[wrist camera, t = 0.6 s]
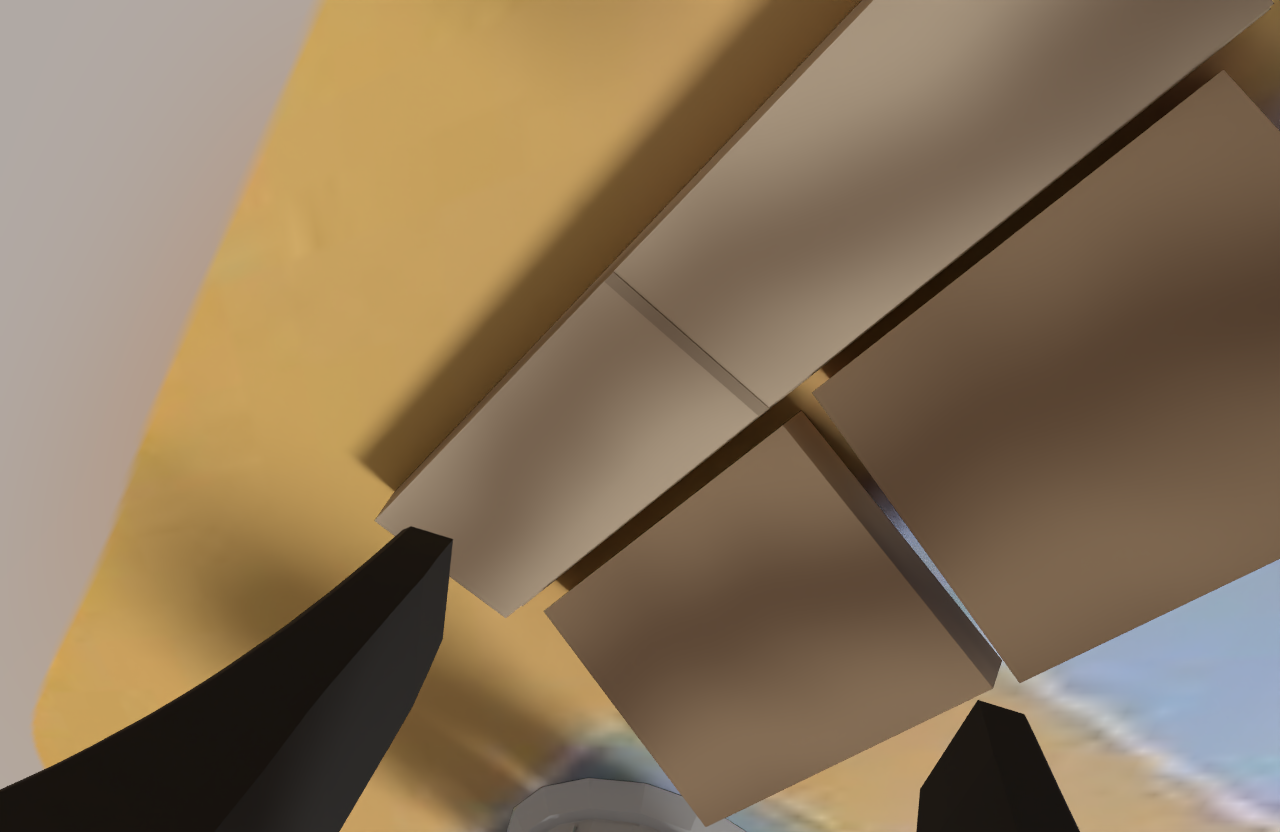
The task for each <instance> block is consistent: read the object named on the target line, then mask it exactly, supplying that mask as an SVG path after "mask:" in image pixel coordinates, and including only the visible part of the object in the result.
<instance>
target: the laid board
mask: <svg viewBox="0 0 1280 832" xmlns="http://www.w3.org/2000/svg"><path fill="white" fill-rule="evenodd" d="M1273 4H1274V2H1273V1H1272V0H862V1H861V2H860V3H859V4H858V5H857V6H856V7H855V8H854V9H853V10H852V11H851V12H850V13H849V14H848V15H847V17H846V18H845V19H844V20H843V21H842V22H841V23H840V24H839V25H838V26H837V27H836V28H835V29H834V30H833V31H832V32H831V33H830V34H829V35H828V36H827V38H826V39H825V40H824V41H823V42H822V43H821V44H820V45H819V46H818V47H817V48H816V49H815V50H814V51H813V52H812V53H811V54H810V55H809V56H808V58H807V59H806V60H805V61H804V62H803V63H802V64H801V65H800V66H799V67H798V68H797V69H796V70H795V71H794V72H793V73H792V74H791V75H790V76H789V78H788V79H787V80H786V81H785V82H784V83H783V84H782V85H781V86H780V87H779V88H778V89H777V90H776V91H775V92H774V93H773V94H772V95H771V96H770V97H769V99H768V100H767V101H766V102H765V103H764V104H763V105H762V106H761V107H760V108H759V109H758V110H757V111H756V112H755V113H754V114H753V115H752V116H751V117H750V119H749V120H748V121H747V122H746V123H745V124H744V125H743V126H742V127H741V128H740V129H739V130H738V131H737V132H736V133H735V134H734V135H733V136H732V137H731V139H730V140H729V141H728V142H727V143H726V144H725V145H724V146H723V147H722V148H721V149H720V150H719V151H718V152H717V153H716V154H715V155H714V156H713V157H712V159H711V160H710V161H709V162H708V163H707V164H706V165H705V166H704V167H703V168H702V169H701V170H700V171H699V172H698V173H697V174H696V175H695V176H694V177H693V178H692V180H691V181H690V182H689V183H688V184H687V185H686V186H685V187H684V188H683V189H682V190H681V191H680V192H679V193H678V194H677V195H676V196H675V197H674V198H673V200H672V201H671V202H670V203H669V204H668V205H667V206H666V207H665V208H664V209H663V210H662V211H661V212H660V213H659V214H658V215H657V216H656V217H655V218H654V220H653V221H652V222H651V223H650V224H649V225H648V226H647V227H646V228H645V229H644V230H643V231H642V232H641V233H640V234H639V235H638V236H637V237H636V238H635V239H634V241H633V242H632V243H631V244H630V245H629V246H628V247H627V248H626V249H625V250H624V251H623V252H622V253H621V254H620V255H619V256H618V257H617V258H616V259H615V261H614V262H613V263H612V264H611V265H610V266H609V267H608V268H607V269H606V270H605V271H604V272H603V273H602V274H601V275H600V276H599V277H598V278H597V279H596V281H595V282H594V283H593V284H592V285H591V286H590V287H589V288H588V289H587V290H586V291H585V292H584V293H583V294H582V295H581V296H580V297H579V298H578V299H577V300H576V302H575V303H574V304H573V305H572V306H571V307H570V308H569V309H568V310H567V311H566V312H565V313H564V314H563V315H562V316H561V317H560V318H559V319H558V320H557V322H556V323H555V324H554V325H553V326H552V327H551V328H550V329H549V330H548V331H547V332H546V333H545V334H544V335H543V336H542V337H541V338H540V339H539V340H538V342H537V343H536V344H535V345H534V346H533V347H532V348H531V349H530V350H529V351H528V352H527V353H526V354H525V355H524V356H523V357H522V358H521V359H520V360H519V362H518V363H517V364H516V365H515V366H514V367H513V368H512V369H511V370H510V371H509V372H508V373H507V374H506V375H505V376H504V377H503V378H502V379H501V380H500V381H499V383H498V384H497V385H496V386H495V387H494V388H493V389H492V390H491V391H490V392H489V393H488V394H487V395H486V396H485V397H484V398H483V399H482V400H481V401H480V403H479V404H478V405H477V406H476V407H475V408H474V409H473V410H472V411H471V412H470V413H469V414H468V415H467V416H466V417H465V418H464V419H463V420H462V421H461V423H460V424H459V425H458V426H457V427H456V428H455V429H454V430H453V431H452V432H451V433H450V434H449V435H448V436H447V437H446V438H445V439H444V440H443V441H442V442H441V444H440V445H439V446H438V447H437V448H436V449H435V450H434V451H433V452H432V453H431V454H430V455H429V456H428V457H427V458H426V459H425V460H424V461H423V462H422V464H421V465H420V466H419V467H418V468H417V469H416V470H415V471H414V472H413V473H412V474H411V475H410V476H409V477H408V478H407V479H406V480H405V481H404V482H403V484H402V485H401V486H400V487H399V488H398V489H397V490H396V491H395V492H394V493H393V495H392V496H391V497H390V499H389V500H388V502H387V503H386V505H385V506H384V508H383V509H382V510H381V512H380V513H379V515H378V516H377V518H376V519H375V520H374V521H375V522H377V523H378V524H380V525H381V526H382V527H384V528H385V529H386V530H388V531H389V532H390V533H392V534H393V535H394V536H396V535H397V534H398V533H400V532H401V531H402V530H403V529H406V528H408V527H410V526H412V527H415V528H419V529H422V530H425V531H428V532H432V533H435V534H438V535H442V536H445V537H448V538H451V539H453V545H452V555H451V564H450V574H449V576H450V577H451V578H452V579H454V580H455V581H456V582H458V583H459V584H460V585H462V586H463V587H464V588H466V589H467V590H468V591H470V592H471V593H473V594H474V595H475V596H477V597H478V598H479V599H481V600H482V601H483V602H485V603H486V604H487V605H489V606H490V607H491V608H493V609H494V610H495V611H497V612H498V613H500V614H501V615H502V616H504V617H505V618H507V617H508V616H509V615H510V614H512V613H513V612H514V611H515V610H517V609H518V608H519V607H520V606H523V605H525V604H526V603H527V602H529V601H530V600H531V599H532V598H534V597H535V596H536V595H537V594H539V593H540V592H541V591H542V590H544V589H545V588H546V587H547V586H549V585H550V584H551V583H552V582H554V581H555V580H556V579H557V578H559V577H560V576H561V575H562V574H564V573H565V572H566V571H567V570H569V569H570V568H571V567H572V566H574V565H575V564H576V563H577V562H579V561H580V560H581V559H582V558H584V557H585V556H586V555H587V554H589V553H590V552H591V551H592V550H594V549H595V548H596V547H597V546H599V545H600V544H601V543H602V542H604V541H605V540H606V539H607V538H609V537H610V536H611V535H612V534H614V533H615V532H616V531H617V530H619V529H620V528H621V527H622V526H624V525H625V524H626V523H627V522H629V521H630V520H631V519H632V518H634V517H635V516H636V515H637V514H639V513H640V512H641V511H642V510H644V509H645V508H646V507H647V506H649V505H650V504H651V503H652V502H654V501H655V500H656V499H657V498H659V497H660V496H661V495H662V494H664V493H665V492H666V491H668V490H669V489H670V488H671V487H673V486H674V485H675V484H676V483H678V482H679V481H680V480H681V479H683V478H684V477H685V476H686V475H688V474H689V473H690V472H691V471H693V470H694V469H695V468H696V467H698V466H699V465H700V464H701V463H703V462H704V461H705V460H706V459H708V458H709V457H710V456H711V455H713V454H714V453H715V452H716V451H718V450H719V449H720V448H721V447H723V446H724V445H725V444H726V443H728V442H729V441H730V440H731V439H733V438H734V437H735V436H736V435H738V434H739V433H740V432H741V431H743V430H744V429H745V428H746V427H748V426H749V425H750V424H751V423H753V422H754V421H755V420H756V419H758V418H759V417H760V416H761V415H763V414H764V413H765V412H766V411H768V410H769V409H770V408H771V407H773V406H774V405H775V404H776V403H778V402H779V401H780V400H781V399H783V398H784V397H785V396H786V395H788V394H789V393H790V392H791V391H793V390H794V389H795V388H796V387H798V386H799V385H800V384H801V383H803V382H804V381H805V380H807V379H808V378H809V377H810V376H812V375H813V374H814V373H815V372H817V371H818V370H819V369H820V368H822V367H823V366H824V365H825V364H827V363H828V362H829V361H830V360H832V359H833V358H834V357H835V356H837V355H838V354H839V353H840V352H842V351H843V350H844V349H845V348H847V347H848V346H849V345H850V344H852V343H853V342H854V341H855V340H857V339H858V338H859V337H860V336H862V335H863V334H864V333H865V332H867V331H868V330H869V329H870V328H872V327H873V326H874V325H875V324H877V323H878V322H879V321H880V320H882V319H883V318H884V317H885V316H887V315H888V314H889V313H890V312H892V311H893V310H894V309H895V308H897V307H898V306H899V305H900V304H902V303H903V302H904V301H905V300H907V299H908V298H909V297H910V296H912V295H913V294H914V293H915V292H917V291H918V290H919V289H920V288H922V287H923V286H924V285H925V284H927V283H928V282H929V281H930V280H932V279H933V278H934V277H935V276H937V275H938V274H939V273H940V272H942V271H943V270H944V269H946V268H947V267H948V266H949V265H951V264H952V263H953V262H954V261H956V260H957V259H958V258H959V257H961V256H962V255H963V254H964V253H966V252H967V251H968V250H969V249H971V248H972V247H973V246H974V245H976V244H977V243H978V242H979V241H981V240H982V239H983V238H984V237H986V236H987V235H988V234H989V233H991V232H992V231H993V230H994V229H996V228H997V227H998V226H999V225H1001V224H1002V223H1003V222H1004V221H1006V220H1007V219H1008V218H1009V217H1011V216H1012V215H1013V214H1014V213H1016V212H1017V211H1018V210H1019V209H1021V208H1022V207H1023V206H1024V205H1026V204H1027V203H1028V202H1029V201H1031V200H1032V199H1033V198H1034V197H1036V196H1037V195H1038V194H1039V193H1041V192H1042V191H1043V190H1044V189H1046V188H1047V187H1048V186H1049V185H1051V184H1052V183H1053V182H1054V181H1056V180H1057V179H1058V178H1059V177H1061V176H1062V175H1063V174H1064V173H1066V172H1067V171H1068V170H1069V169H1071V168H1072V167H1073V166H1074V165H1076V164H1077V163H1078V162H1080V161H1081V160H1082V159H1083V158H1085V157H1086V156H1087V155H1088V154H1090V153H1091V152H1092V151H1093V150H1095V149H1096V148H1097V147H1098V146H1100V145H1101V144H1102V143H1103V142H1105V141H1106V140H1107V139H1108V138H1110V137H1111V136H1112V135H1113V134H1115V133H1116V132H1117V131H1118V130H1120V129H1121V128H1122V127H1123V126H1125V125H1126V124H1127V123H1128V122H1130V121H1131V120H1132V119H1133V118H1135V117H1136V116H1137V115H1138V114H1140V113H1141V112H1142V111H1143V110H1145V109H1146V108H1147V107H1148V106H1150V105H1151V104H1152V103H1153V102H1155V101H1156V100H1157V99H1158V98H1160V97H1161V96H1162V95H1163V94H1165V93H1166V92H1167V91H1168V90H1170V89H1171V88H1172V87H1173V86H1175V85H1176V84H1177V83H1178V82H1180V81H1181V80H1182V79H1183V78H1185V77H1186V76H1187V75H1188V74H1190V73H1191V72H1192V71H1193V70H1195V69H1196V68H1197V67H1198V66H1200V65H1201V64H1202V63H1203V62H1205V61H1206V60H1207V59H1208V58H1210V57H1211V56H1212V55H1213V54H1215V53H1216V52H1217V51H1219V50H1220V49H1221V48H1222V47H1224V46H1225V45H1226V44H1227V43H1229V42H1230V41H1231V40H1232V39H1234V38H1235V37H1236V36H1237V35H1239V34H1240V33H1241V32H1242V31H1244V30H1245V29H1246V28H1247V27H1249V26H1250V25H1251V24H1252V23H1254V22H1255V21H1256V20H1257V19H1259V18H1260V17H1261V16H1262V15H1264V14H1265V13H1266V12H1267V11H1269V10H1270V9H1271V8H1270V6H1272V5H1273Z"/></svg>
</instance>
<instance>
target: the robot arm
mask: <svg viewBox="0 0 1280 832" xmlns="http://www.w3.org/2000/svg"><path fill="white" fill-rule="evenodd" d="M452 545H453V539H451V538H448V537H445V536H442V535H438V534H435V533H432V532H428V531H425V530H422V529H419V528H415V527H412V526H410V527H408V528H406V529H403V530H402V531H401V532H400V533H398V534H397V535H396V536H395V537H394V538H393V539H392V540H391V541H390V542H388V543H387V544H386V545H385V546H384V547H383V548H382V549H380V550H379V551H378V552H377V553H376V554H375V555H374V556H372V557H371V558H370V559H369V560H368V561H367V562H365V563H364V564H363V565H362V566H361V567H359V568H358V569H357V570H356V571H355V572H353V573H352V574H351V575H350V576H349V577H347V578H346V579H345V580H344V581H342V582H341V583H340V584H339V585H338V586H336V587H335V588H334V589H333V590H331V591H330V592H329V593H328V594H326V595H325V596H324V597H322V598H321V599H320V600H318V601H317V602H316V603H315V604H313V605H312V606H311V607H309V608H308V609H307V610H305V611H304V612H303V613H302V614H300V615H299V616H298V617H296V618H295V619H294V620H292V621H291V622H290V623H288V624H287V625H286V626H284V627H283V628H282V629H280V630H279V631H278V632H276V633H275V634H273V635H272V636H270V637H269V638H268V639H266V640H265V641H263V642H262V643H260V644H259V645H257V646H256V647H255V648H253V649H252V650H250V651H249V652H247V653H246V654H244V655H243V656H242V657H240V658H239V659H237V660H236V661H234V662H233V663H232V664H230V665H229V666H227V667H226V668H224V669H223V670H221V671H220V672H218V673H217V674H215V675H213V676H212V677H210V678H209V679H207V680H206V681H204V682H202V683H201V684H199V685H198V686H196V687H195V688H193V689H191V690H190V691H188V692H186V693H185V694H183V695H182V696H180V697H178V698H177V699H175V700H173V701H171V702H170V703H168V704H166V705H165V706H163V707H161V708H160V709H158V710H156V711H155V712H153V713H151V714H149V715H148V716H146V717H144V718H142V719H141V720H139V721H137V722H135V723H133V724H131V725H129V726H128V727H126V728H124V729H122V730H120V731H118V732H117V733H115V734H113V735H111V736H109V737H107V738H105V739H104V740H102V741H100V742H98V743H96V744H94V745H93V746H91V747H89V748H87V749H85V750H83V751H81V752H79V753H77V754H75V755H73V756H71V757H69V758H67V759H65V760H63V761H61V762H59V763H57V764H55V765H53V766H51V767H49V768H47V769H44V770H42V771H40V772H38V773H36V774H34V775H31V776H29V777H27V778H25V779H23V780H20V781H18V782H16V783H14V784H12V785H9V786H7V787H5V788H3V789H1V790H0V832H339V831H340V830H341V828H342V826H343V824H344V823H345V821H346V819H347V818H348V816H349V814H350V813H351V811H352V809H353V807H354V806H355V804H356V802H357V801H358V799H359V797H360V796H361V794H362V792H363V790H364V789H365V787H366V785H367V784H368V782H369V780H370V779H371V777H372V775H373V773H374V772H375V770H376V768H377V767H378V765H379V763H380V762H381V760H382V758H383V757H384V755H385V753H386V751H387V750H388V748H389V746H390V744H391V743H392V741H393V739H394V738H395V736H396V734H397V732H398V731H399V729H400V727H401V726H402V724H403V722H404V720H405V719H406V717H407V715H408V713H409V712H410V710H411V708H412V706H413V704H414V702H415V700H416V698H417V696H418V693H419V691H420V689H421V687H422V685H423V682H424V680H425V678H426V676H427V673H428V671H429V669H430V667H431V664H432V662H433V660H434V657H435V655H436V653H437V651H438V648H439V646H440V644H441V641H442V639H443V630H444V621H445V611H446V602H447V592H448V583H449V574H450V564H451V555H452ZM917 832H1080V831H1079V829H1078V827H1077V824H1076V822H1075V820H1074V818H1073V816H1072V814H1071V812H1070V810H1069V808H1068V806H1067V804H1066V801H1065V799H1064V797H1063V795H1062V793H1061V791H1060V789H1059V787H1058V784H1057V782H1056V780H1055V778H1054V776H1053V774H1052V772H1051V769H1050V767H1049V765H1048V763H1047V761H1046V759H1045V757H1044V754H1043V752H1042V750H1041V748H1040V746H1039V744H1038V741H1037V739H1036V737H1035V735H1034V733H1033V731H1032V729H1031V727H1030V724H1029V722H1028V720H1027V719H1026V717H1025V715H1024V714H1022V713H1018V712H1015V711H1012V710H1009V709H1005V708H1002V707H999V706H996V705H992V704H989V703H986V702H983V701H979V700H978V701H977V702H976V704H975V705H974V707H973V708H972V710H971V711H970V713H969V715H968V716H967V718H966V719H965V721H964V722H963V724H962V725H961V727H960V728H959V730H958V732H957V733H956V735H955V736H954V738H953V739H952V741H951V742H950V744H949V745H948V747H947V749H946V750H945V752H944V753H943V755H942V756H941V758H940V759H939V761H938V762H937V764H936V766H935V767H934V769H933V770H932V772H931V773H930V775H929V776H928V778H927V780H926V781H925V783H924V784H923V786H922V787H921V789H920V798H919V809H918V821H917Z"/></svg>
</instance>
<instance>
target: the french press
mask: <svg viewBox="0 0 1280 832" xmlns="http://www.w3.org/2000/svg"><path fill="white" fill-rule="evenodd" d="M507 832H745V831H744V830H742V829H741V828H739V827H738V826H736V825H735V824H733V823H732V822H730V821H729V820H727V819H726V818H724V819H722V820H720V821H718V822H716V823H714V824H712V825H709V826H707V827H705V826H704V824H703V823H702V822H701V820H700V819H699V818H698V816H697V815H696V814H695V812H694V811H693V810H692V808H691V807H690V806H689V804H688V803H687V802H686V800H685V799H684V798H683V796H680V795H678V794H675V793H672V792H669V791H666V790H663V789H660V788H657V787H654V786H652V785H649V784H646V783H636V782H626V781H615V780H605V779H594V778H586V779H581V780H576V781H571V782H566V783H561V784H555V785H550V786H545V787H542V788H540V789H539V790H538V791H536V792H535V793H534V794H532V795H531V796H529V797H528V798H527V799H525V800H524V801H523V802H521V803H520V804H519V805H517V806H516V807H514V808H513V812H512V815H511V819H510V822H509V826H508V829H507Z"/></svg>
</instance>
